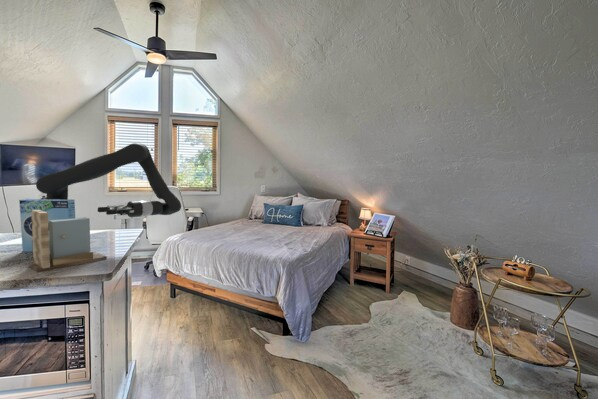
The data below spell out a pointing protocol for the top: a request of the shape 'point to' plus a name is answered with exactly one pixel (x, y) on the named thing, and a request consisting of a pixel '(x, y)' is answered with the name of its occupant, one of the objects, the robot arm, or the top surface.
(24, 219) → the gum box
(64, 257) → the hinge base
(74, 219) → the grey flat block
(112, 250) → the top surface
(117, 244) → the top surface
